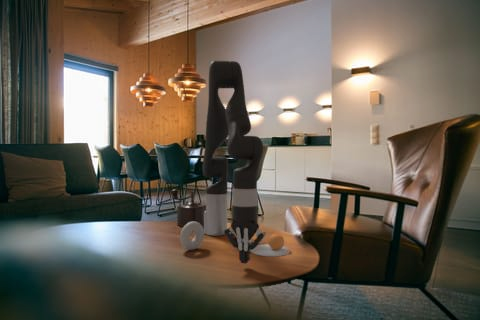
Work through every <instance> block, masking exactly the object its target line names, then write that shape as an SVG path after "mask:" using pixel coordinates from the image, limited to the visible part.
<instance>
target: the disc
mask: <svg viewBox="0 0 480 320" xmlns="http://www.w3.org/2000/svg"><path fill="white" fill-rule="evenodd" d="M250 253H252V254H255V255H257V256H262V257H283V256H287V255H288V254H290V253H291V249H290V248H289V247H287V246H285V245H283V247H282V248H281V249H279V250H274V249H272V248H271V247H270V246H269V243H268V244H267V243H266V244H258V245H257V246H256V247H255V248H254V249H253V250H250Z"/></svg>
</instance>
